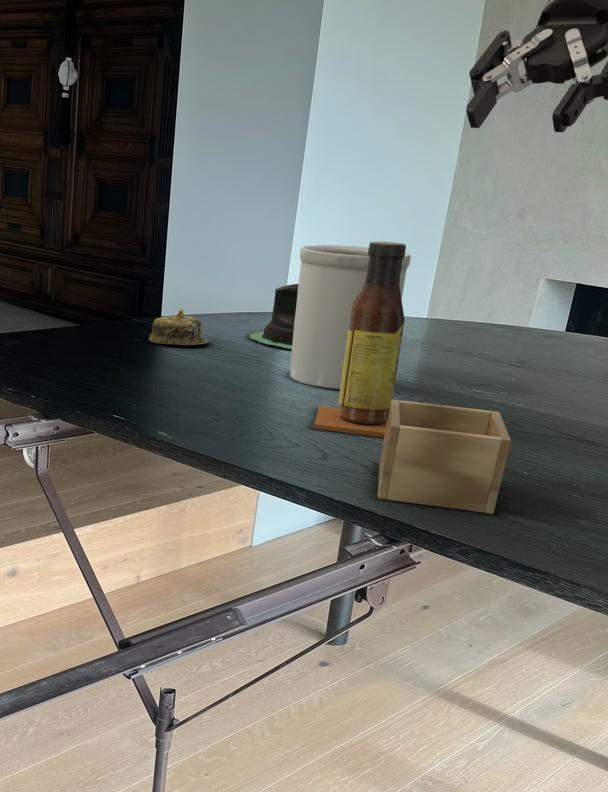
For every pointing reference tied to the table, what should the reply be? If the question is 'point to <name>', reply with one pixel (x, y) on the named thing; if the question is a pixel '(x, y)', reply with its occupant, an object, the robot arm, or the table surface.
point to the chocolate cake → (281, 319)
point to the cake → (177, 330)
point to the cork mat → (345, 424)
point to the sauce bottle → (374, 339)
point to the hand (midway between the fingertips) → (513, 122)
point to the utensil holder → (327, 310)
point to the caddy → (443, 456)
